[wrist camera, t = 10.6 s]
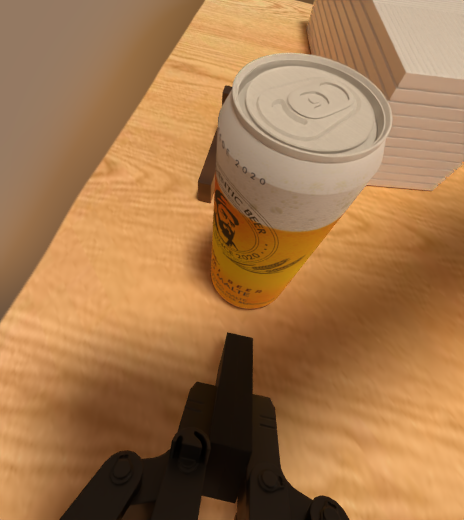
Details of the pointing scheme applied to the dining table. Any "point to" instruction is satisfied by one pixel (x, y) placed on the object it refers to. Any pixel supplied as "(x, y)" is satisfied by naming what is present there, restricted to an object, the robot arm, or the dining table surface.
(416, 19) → the stack of papers
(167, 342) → the dining table surface
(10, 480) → the dining table surface
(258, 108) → the beer can
